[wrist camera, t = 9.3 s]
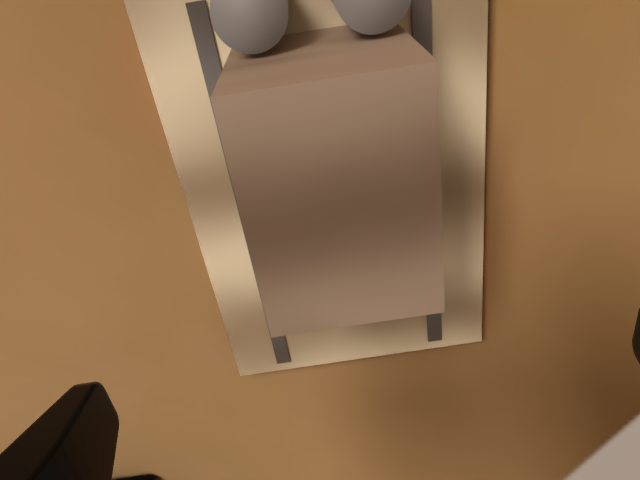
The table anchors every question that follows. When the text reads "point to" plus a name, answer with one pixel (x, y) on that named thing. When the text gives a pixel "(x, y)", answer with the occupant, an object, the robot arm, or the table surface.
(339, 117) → the upright wooden block
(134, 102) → the table surface
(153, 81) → the guide board
